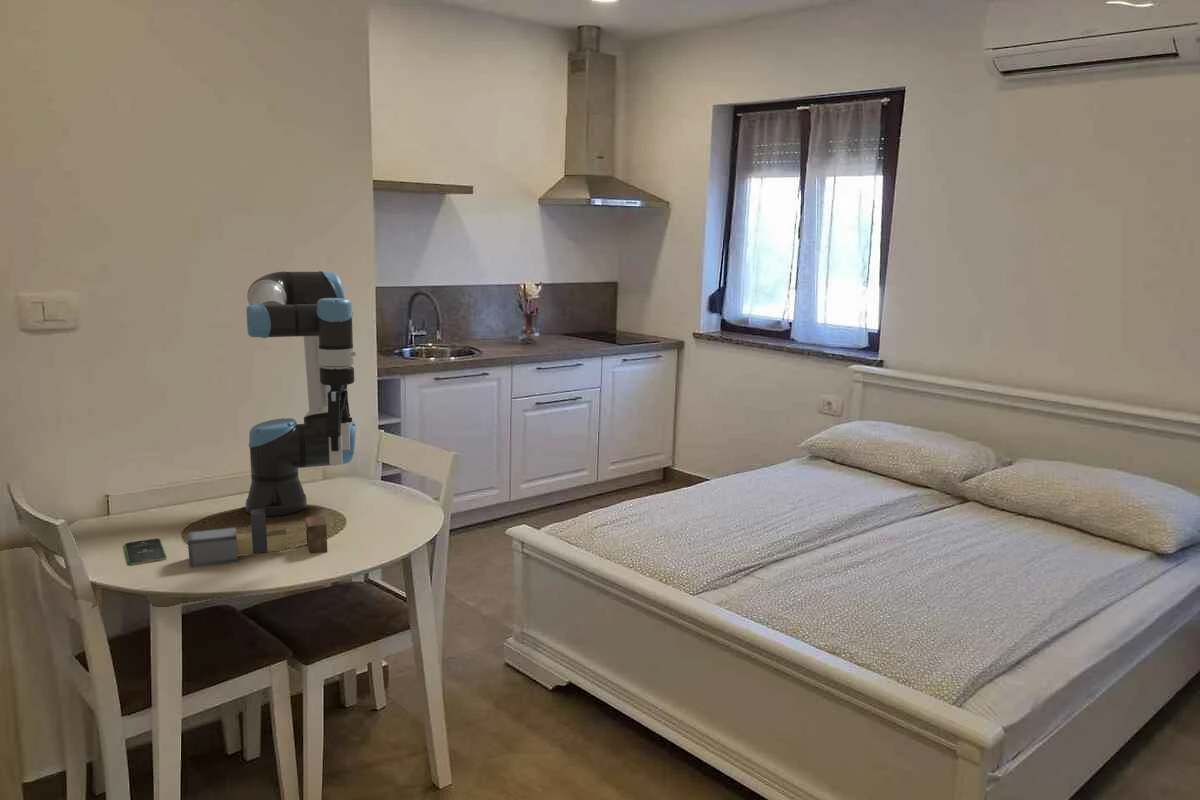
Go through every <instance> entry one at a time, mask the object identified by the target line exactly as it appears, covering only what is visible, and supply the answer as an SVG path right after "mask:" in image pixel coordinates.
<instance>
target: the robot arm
mask: <svg viewBox="0 0 1200 800" xmlns="http://www.w3.org/2000/svg"><path fill="white" fill-rule="evenodd" d="M340 278H341V277H339V275H338V274H337V273H335V272H332V271H323V270H319V271H275V272H271V273H267V274H265V275H262V276H261V277H259V278H257V279H256V280H254V281H253V283H252V284H250V286H249V287H248V290H247V294H246V295H247V296H246V298H247V302H248V306H246V310H245V311H246V313H245V314H246V328H247V329H246V330H247V335H248V336H249V337H251V338H262V339H267V338H288V337H295V338H296V337H303V344H304V345H303V348H304V359H305V360H304V361H305V372H306V373H305V374H306V385H307V386H306V387H307V399H308V400H307V401H308V412H307V413H306V414H305V415H304V416H303V423H297V420H296V419H294V418H289V417H288V418H284V417H283V418H275V419H271V420H270V419H269V420H266V421H263V422H259V423H257V424H255V425H254V426H253V427H251V428H250V430H249V433H248V434H249V437H248V441H249V442H248V447H249V455H250V456H249V457H250V479H251V480H250V481H251V483H250V487H249V491H248V494H247V498H246V501H245V512H246V513H247V514H249V515H251V510H254V509H264V508H265V516H266V517H278V516H285V515H291V514H294V513H297V512H301V511H302V510H304V509H306V507H307V505H308V503H307V502H308V501H307V496H306V494H305V492H304V489H303V485H302V483H301V481H300V478H299V469H302V468H315V467H327V466H333V467H336V466H341V465H345V464H346V465H347V464H349V463H350V462H352V460H353V458H354V454H355V447H356V434H357V433H356V431H357V430H356V429H357V428H356V422H355V420H353V417H351V413H350V405H349V396H348V394H349V392H348V386H349V385H351V384H353V383H354V382H355V369H354V368H355V367H353V366H352V365H354V357H356V356H357V353H356V351H353V350H354V344H353V343H354V342H353V316H354V315H353V314H354V313H353V312H354V311H353V306H352V302H351V300H350V299H349V298H345V292H344V287H343V285H342V284H343V283H342V281H341V279H340Z"/></svg>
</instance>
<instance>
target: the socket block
mask: <svg viewBox="0 0 1200 800" xmlns="http://www.w3.org/2000/svg"><path fill="white" fill-rule="evenodd" d="M305 526H306V528H305V529H306V530H305V531H306V546H307V550H308V553H309V555H314V554H321V553H328V536H327V535H328V533H327V522H326V519H325V517H324V515H317V516H308V517H307V516H306V517H305Z"/></svg>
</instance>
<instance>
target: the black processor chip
mask: <svg viewBox="0 0 1200 800" xmlns="http://www.w3.org/2000/svg"><path fill="white" fill-rule="evenodd" d="M123 547H124V551H125V556H126V560H127V565H129V566H137V565H143V564H149V563H155V562H162V561H167V554H166V552H165V547H164V546H163V542H162V540H161V539H160V538H157V537H156V538H150V539H143V540H137V541H130V542H126V543H124V545H123Z"/></svg>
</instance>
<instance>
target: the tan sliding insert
mask: <svg viewBox="0 0 1200 800" xmlns="http://www.w3.org/2000/svg"><path fill="white" fill-rule="evenodd" d="M266 517H267V516H265V508H264V509H254V510H251V514H250V525H251V532H248V533H239V534H236V546H237V556H242V555H250V554H251V555H252V554H262V553H268V552H276V551H278V552H279V551H287V550H288V538H287V529H277V530H269V531H268V530H267V520H266V519H267V518H266Z"/></svg>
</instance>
